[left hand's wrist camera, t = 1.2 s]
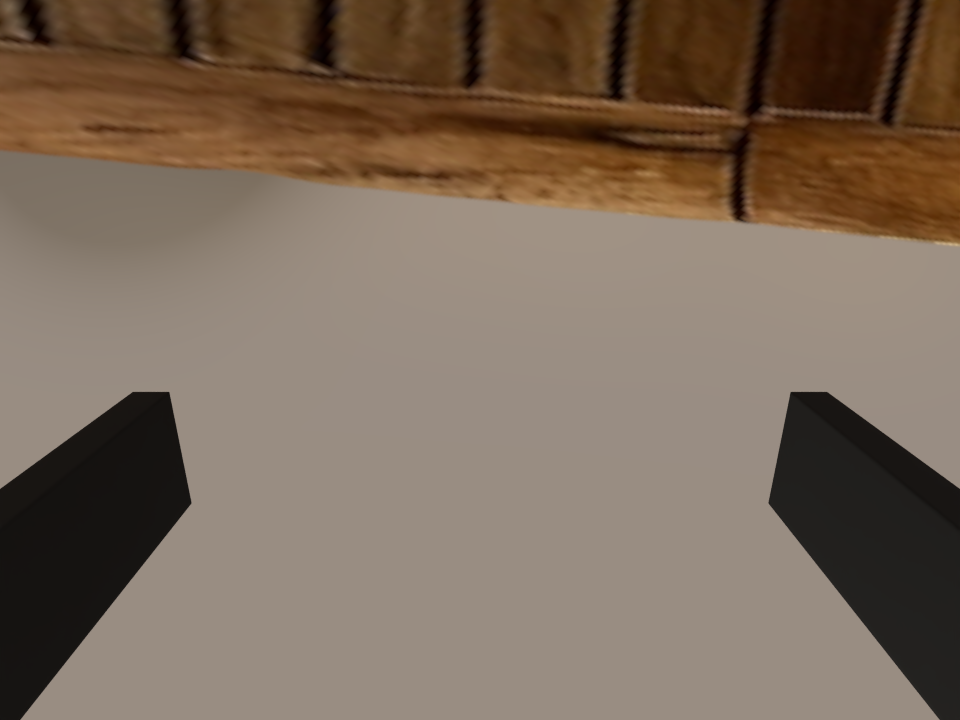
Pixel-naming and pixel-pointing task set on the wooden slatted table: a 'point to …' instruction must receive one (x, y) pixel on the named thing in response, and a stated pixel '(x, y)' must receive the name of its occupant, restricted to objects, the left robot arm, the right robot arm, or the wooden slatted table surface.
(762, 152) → the wooden slatted table surface
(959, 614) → the left robot arm
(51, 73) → the wooden slatted table surface
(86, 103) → the wooden slatted table surface
